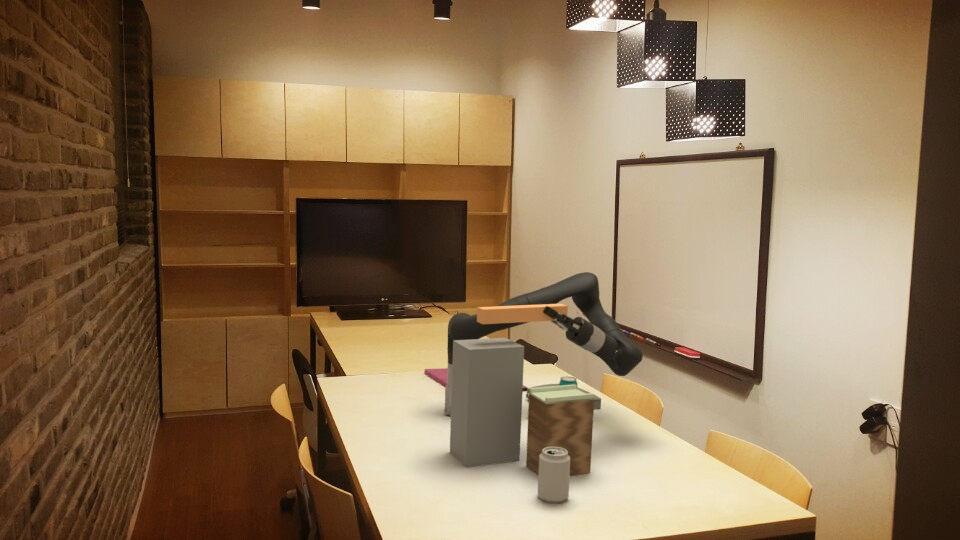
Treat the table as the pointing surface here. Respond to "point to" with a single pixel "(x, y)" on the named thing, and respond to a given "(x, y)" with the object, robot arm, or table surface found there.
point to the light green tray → (596, 399)
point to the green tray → (560, 394)
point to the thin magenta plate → (444, 376)
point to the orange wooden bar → (517, 313)
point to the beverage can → (567, 381)
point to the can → (554, 474)
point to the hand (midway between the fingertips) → (541, 307)
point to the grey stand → (486, 401)
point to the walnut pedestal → (560, 432)
